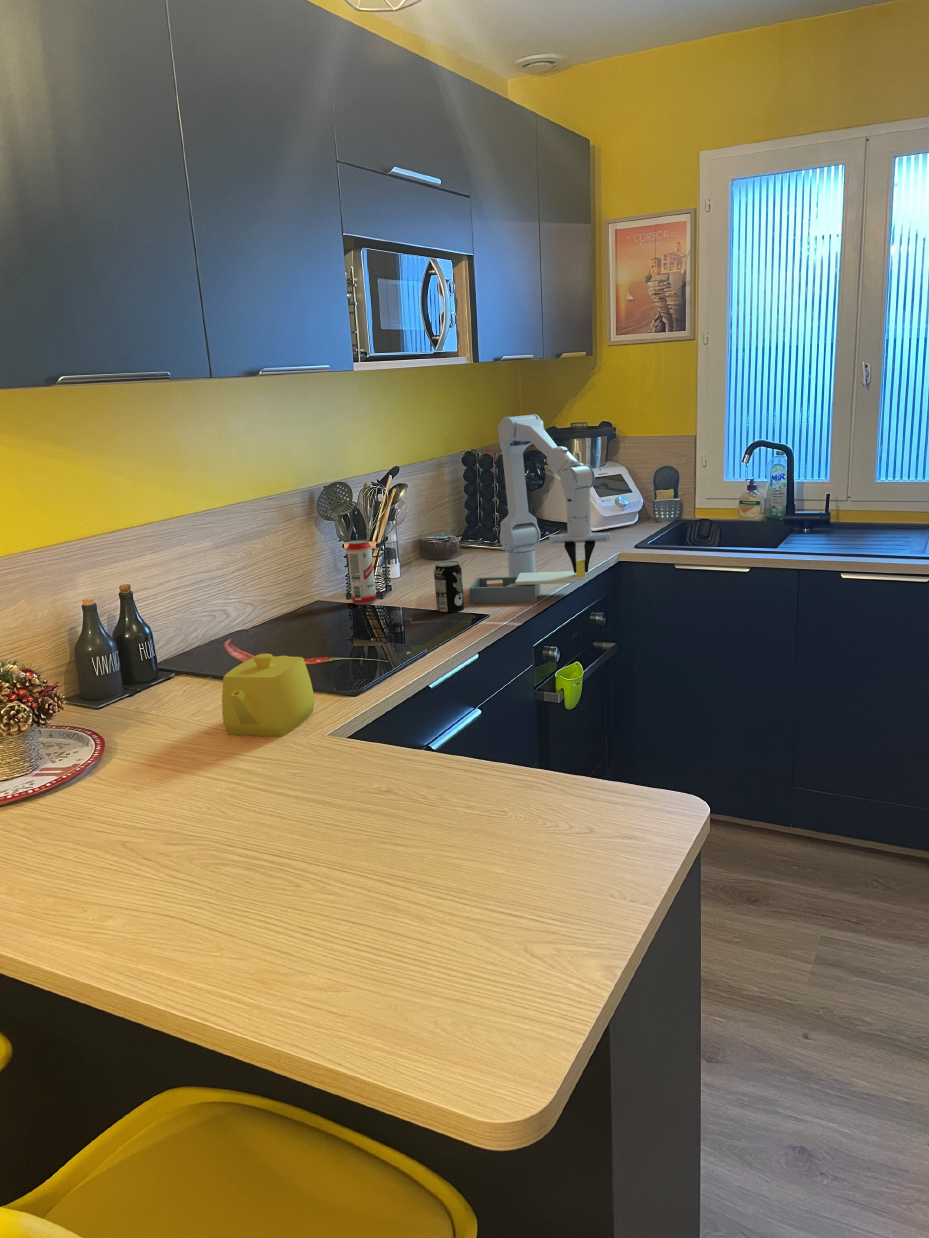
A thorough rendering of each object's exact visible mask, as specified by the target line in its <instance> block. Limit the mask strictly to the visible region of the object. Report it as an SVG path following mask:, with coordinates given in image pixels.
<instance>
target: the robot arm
mask: <svg viewBox="0 0 929 1238" xmlns="http://www.w3.org/2000/svg"><path fill="white" fill-rule="evenodd" d="M497 431H498V438H499V448H500V450H501V452H502V463H503V470H504V471H503V472H504V483H505V493H506V501H507V510H508V511H507V512H508V514H507V516H505V517H504V518H503V519H502V520H501V522H500V533H499V542H500V545H501V546H502V548H503V549H504V551H505V552H506V553H507V566H508V567H507V568H508V577H517V576H519V574H520V573H534V572H536V559H535V557H536V556H535V549H537V545H539V544H540V541H541V530H540V528H539V526H538V519H537V518H536V517H535V516H534V515H532V513H530V512H529V503H528V495H527V484H526V474H525V464H524V452H525V450H526V448H527V447H530V446H531V445H532V444H533V445H534V446H535V447H536V448H537V449H538V450H539V451H540V452H541V453H542V454H544V455H545V456H546V464H547V465H548V466H549V467H550V468H551V470H553V471H554V473H555V474H556V475H557V476H558V477H559V482H560V483H559V484H560V486H561V488H562V490H563V496H564V499H565V500H566V505H565V506H566V522H567V523H566V524H567V525H566V527H567V533H561V534H550V535H549V537H548V538H549V539H548V540H549V545H555V544H564V549H565V551H566V553H567V555H568V557H569V560H570V562H571V564H572V568H573V569H572V570H573V571H574V573H576V574H577V572H576V561H577V548H576V547H577V543H584V559H585V573H587V574H588V573H589V564H590V559H591V557H592V555H593V551H594V549H595V547H596V543H602V542H605V543H611V532H592V515H591V514H592V513H591V512H592V510H591V488H593V486H594V484H595V480H596V479H595V478H596V476H595V472H594V470H593V468H592V466H591V464H584V463H582V462H581V463H580V462H579V460H578V459H577V458H575V457H574V456H573V454H572V453H571V452H570V451H569V449H568V448H567V447H566V446H557V444H556V443H555V442H554V440H553V438H551V437H550V435H549V434H548V433H547V431H546V430H545V426H544V420H542V419H541V417H539V415H538V414H534V413H531V414H529V415H527V414H526V415H518V416H504V417H503V418H502V419H501V421H500V422H499V424H498V427H497Z"/></svg>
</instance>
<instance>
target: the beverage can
mask: <svg viewBox="0 0 929 1238" xmlns="http://www.w3.org/2000/svg"><path fill="white" fill-rule="evenodd" d="M433 578H434V579H433V580H434V590H435V591H434V592H435V603H436V605H435V606H436V611H437V612H438V613H442V614H451V613H453V614H454V613H459V612H462V611H463V610H464V609H465V600H464V588H463V587H464V585H463V572H462V567H461V565H460V561H458V560H443V561H437V562H436V563H435V564H434V568H433Z"/></svg>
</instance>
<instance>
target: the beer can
mask: <svg viewBox="0 0 929 1238" xmlns="http://www.w3.org/2000/svg"><path fill="white" fill-rule="evenodd" d="M372 551H373V550H372V546H371V544H370V543H369V540H368V539H355V540H350V541H348V546H347V549H346V554H347V562H348V563H347V564H348V572H349V573H348V574H349V581H350V592H351V601H352V602H353V604H355V605H357V606H367V605H371V604H373V603H375V601H376V600H377V591H376V590H377V589H376V582H375V569H374V561H373V552H372Z"/></svg>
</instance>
